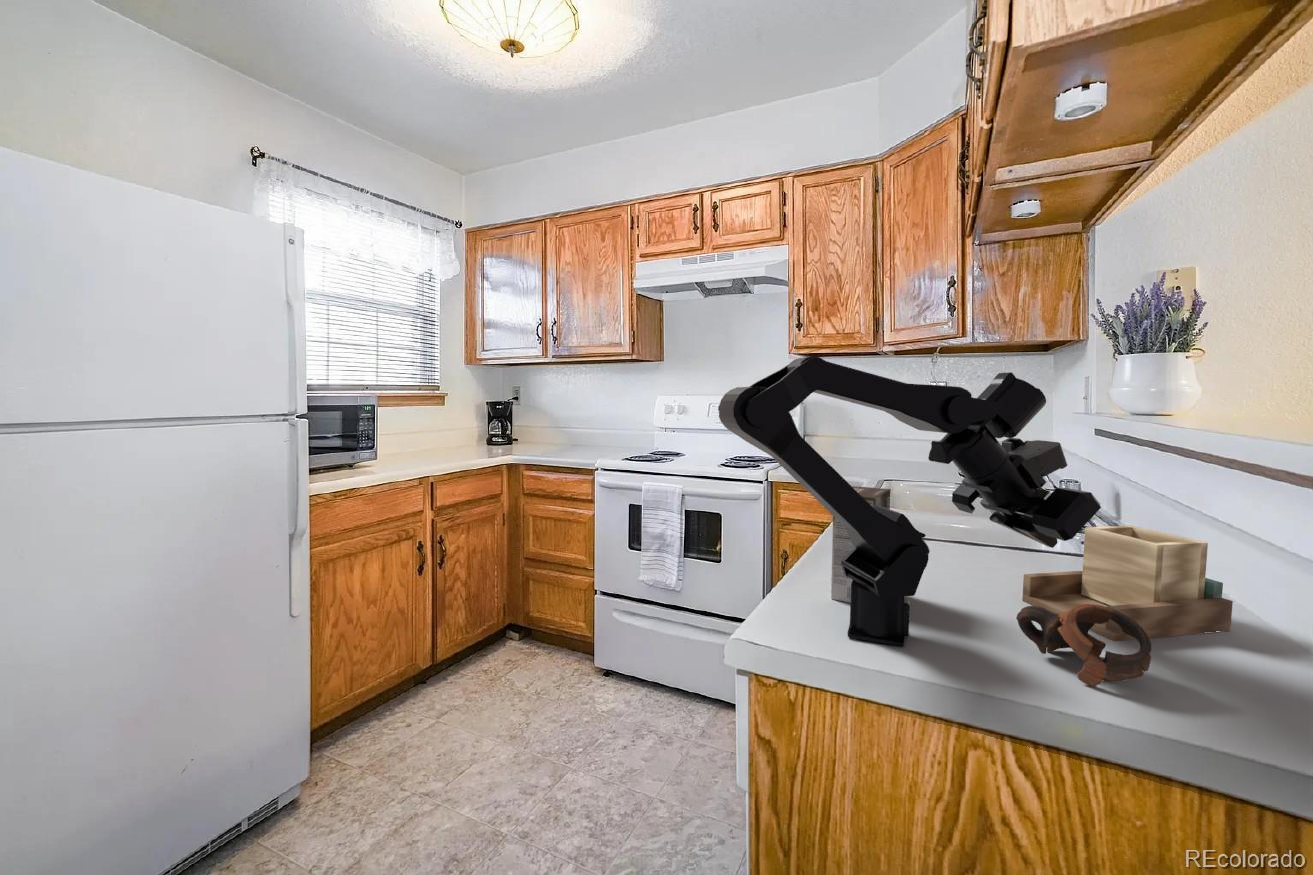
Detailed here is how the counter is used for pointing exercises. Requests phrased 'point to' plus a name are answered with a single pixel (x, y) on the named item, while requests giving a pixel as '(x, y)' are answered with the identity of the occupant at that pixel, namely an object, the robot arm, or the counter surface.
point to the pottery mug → (1087, 640)
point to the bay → (1133, 607)
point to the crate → (1141, 566)
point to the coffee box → (850, 543)
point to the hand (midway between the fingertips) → (1052, 544)
